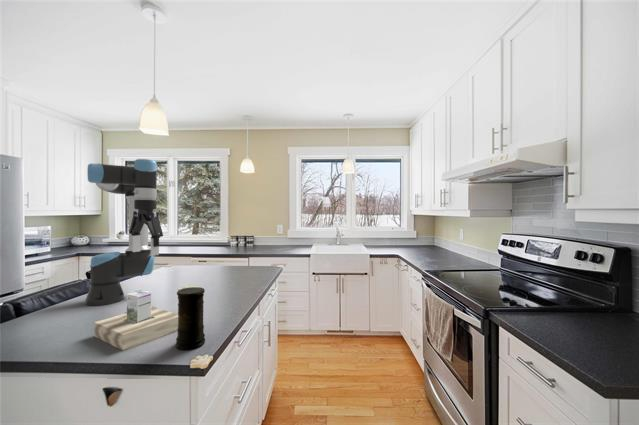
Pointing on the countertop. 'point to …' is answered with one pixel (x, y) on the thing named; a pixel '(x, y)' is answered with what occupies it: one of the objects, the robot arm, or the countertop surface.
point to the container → (190, 318)
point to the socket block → (135, 329)
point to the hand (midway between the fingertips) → (145, 253)
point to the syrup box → (138, 306)
